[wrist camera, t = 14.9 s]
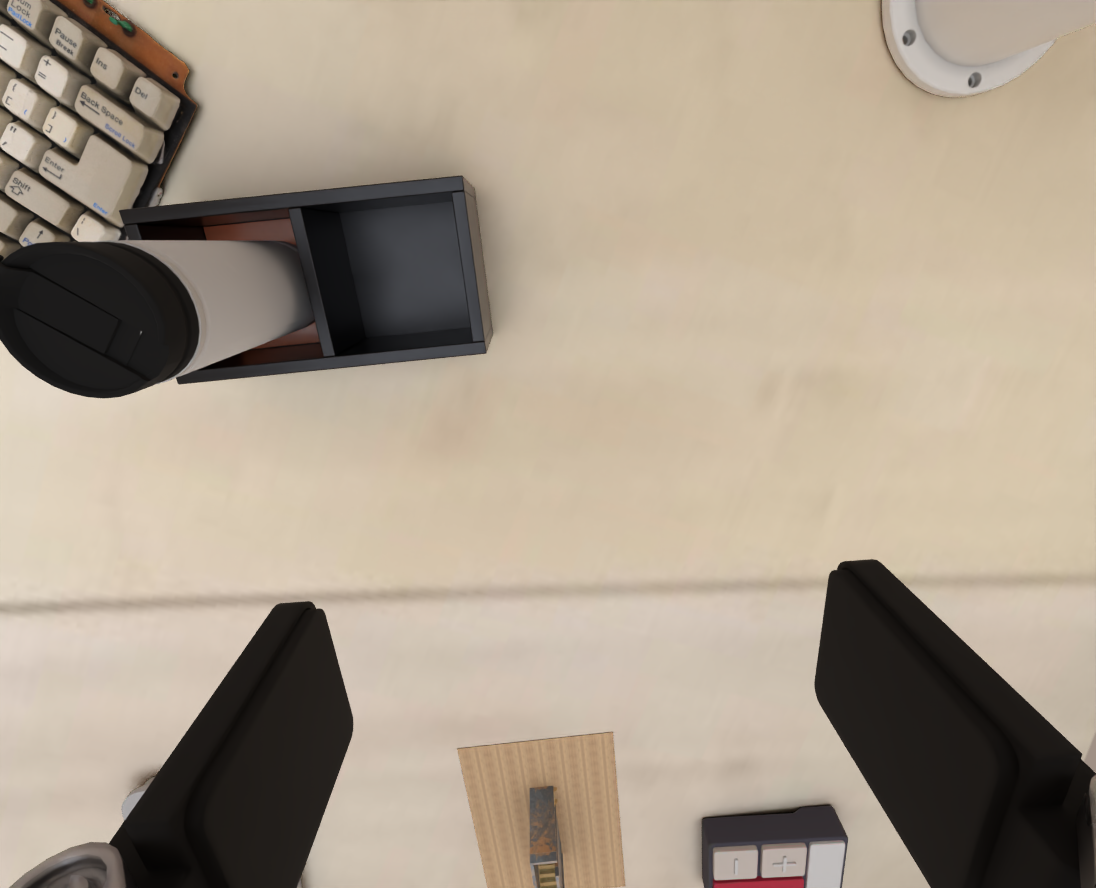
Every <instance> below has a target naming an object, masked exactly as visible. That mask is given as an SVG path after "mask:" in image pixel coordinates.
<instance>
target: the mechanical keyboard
mask: <svg viewBox="0 0 1096 888" xmlns="http://www.w3.org/2000/svg"><path fill="white" fill-rule="evenodd" d="M105 8H108V9H110V10H111V11H113V12H114V13H115V14H116V15H117V16H119V18H120V21H119V20H116V19H114V18H113V17H111V16H110V15H108V14H107V13H106V12H105V11H104V9H105ZM188 73H189V69H188V67H187V66H186V64H185V63H184V62H183V61H180V60H179V59H178V58H177V57H175V56H174V55H173V54H172V53H171V52H169V51H167V50H166V49H164V48H163V47H162V46H161V45H160V44H158V43H157V42H156V41H155V40H153V39H152V37H150V36H149V35H148V34H147V33H146V32H144V31H143V30H141V29H140V28H138V27H137V26H136V25H134V24H133V23H132V22H131V21H129V20H128V19H127V18H125V17H124V16H122V15H121V14H120V13H119V12H117V11H116V10H115V9H113V8H112V7H111V6H110V5H108V4H107V3H105V2H104V1H103V0H0V255H2V256H3V257H4V259H5V258H6V257H7V256H9V255H10V254H11V253H13V252H15V251H16V250H18V249H20V248H21V247H25V246H28V245H32V244H35V243H44V242H94V241H106V240H117V241H121V240H129V239H128V236H127V233H126V230H125V227H124V224H123V222H122V219H121V216H120V213H119V210H124V209H134V208H144V207H154V206H156V205H159V202H160V200H159V199H160V198H161V197H162V195H163V193H162V191H163V190H162V189H161V187H160V184H161V182H162V180H163V178H164V176H165V173H166V171H167V170H168V168H169V166H170V163H171V161H172V159H173V157H174V155H175V153H176V151H177V149H178V147H179V145H180V143H181V141H182V139H183V136H184V134H185V132H186V129H187V128H188V126H189V124H190V121H191V119H192V117H193V115H194V113H195V110H196V109H197V104H196V103H195V102H194V101H193V100H192V99H191V98H189V96H188V95H187V94H186V92H185V90H184V83H185V80H186V78H187V76H188ZM173 74H176V75H177V78H174V77H173ZM158 195H160V196H158ZM4 259H3V260H4Z"/></svg>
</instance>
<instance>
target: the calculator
mask: <svg viewBox="0 0 1096 888" xmlns="http://www.w3.org/2000/svg"><path fill="white" fill-rule="evenodd" d="M847 844H848V837H847V835H846V833H845V830H844V828H843V826H842V824H841V822H840V820H839V818H838V816H837V814H836V812H835V810H834V808H833V807H832V806H815V807H800V808H799V809H798V810H797V811H796V812H795V813H786V814H769V815H751V816H734V817H716V818H704V819H703V820H702V879H703V883H704V888H842V882H843V874H844V866H845V859H846V851H847Z"/></svg>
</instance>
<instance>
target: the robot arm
mask: <svg viewBox="0 0 1096 888" xmlns="http://www.w3.org/2000/svg"><path fill="white" fill-rule="evenodd" d="M882 19H883V29H884V33H885V38H886V42H887V46H888V48H889V50H890V53H891V55H892V57H893V59H894V61H895V63H896V65H897V66H898V67H899V69H900V70H901V71H902V73H903V74H904V75H905V77H906V78H908V79H909V80H910V81H911V82H913V83H914V84H915V85H916V86H917V87H919V88H921V89H923V90H925V91H927V92H929V93H932V94H934V95H940V96H945V97H967V96H971V95H975V94H979V93H983V92H986V91H989V90H991V89H994V88H997V87H999V86H1002V85H1004V84H1006V83H1008V82H1009V81H1011V80H1013V79H1015V78H1016V77H1018V76H1020V75H1021V74H1022V73H1024V72H1025V71H1026V70H1027V69H1029V68H1030V67H1031V66H1032V65H1034V64H1035V63H1036V62H1037V61H1038V60H1039V59H1040V58H1041V57H1042V56H1043V55H1044V54H1045V53H1046V52H1047V50H1048V49H1049V48H1050V47H1051V46H1052V45H1053V44H1054V42H1055V41H1056V40H1057V38H1060V37H1062V36H1065V35H1068V34H1070V33H1073V32H1076V31H1078V30H1081V29H1083V28H1086V27H1089V26H1091V25H1094V24H1096V0H882ZM903 42H904V43H903ZM815 692H816V696H817V699H818V701H819V703H820V705H821V707H822V709H823V710H824V712H825V714H826V715H827V717H828V719H829V720H830V722H831V724H832V725H833V727H834V729H835V730H836V732H837V733H838V735H839V737H840V738H841V740H842V742H843V743H844V745H845V747H846V748H847V750H848V752H849V753H850V755H851V757H852V758H853V760H854V762H855V763H856V765H857V766H858V768H859V770H860V771H861V773H862V775H863V776H864V778H865V780H866V781H867V783H868V785H869V786H870V788H871V790H872V791H873V793H874V795H875V796H876V798H877V799H878V801H879V803H880V804H881V806H882V808H883V809H884V811H885V813H886V814H887V816H888V818H889V819H890V821H891V823H892V824H893V826H894V828H895V829H896V831H897V832H898V834H899V836H900V837H901V839H902V841H903V842H904V844H905V846H906V847H907V849H908V851H909V852H910V854H911V856H912V857H913V859H914V861H915V862H916V864H917V865H918V867H919V869H920V870H921V872H922V874H923V875H924V877H925V879H926V880H927V882H928V884H929V885H930V887H931V888H1096V773H1095V772H1093V770H1092V769H1091V768H1090V767H1089V766H1088V765H1086V764H1085V763H1084V762H1083V761H1082V760H1081V756H1082V753H1081V752H1080V751H1079V750H1077V749H1076V748H1075V747H1074V746H1073V745H1072V744H1071V743H1070V742H1069V741H1068V740H1067V739H1066V738H1065V737H1064V736H1063V735H1062V734H1061V733H1060V732H1059V731H1057V730H1056V729H1055V728H1054V727H1053V726H1052V725H1051V724H1050V723H1049V722H1048V721H1047V720H1046V719H1045V718H1044V717H1043V716H1042V715H1041V714H1040V713H1039V712H1037V711H1036V710H1035V709H1034V708H1033V707H1032V706H1031V705H1030V704H1029V703H1028V702H1027V701H1026V700H1025V699H1024V698H1023V697H1022V696H1021V695H1020V694H1019V693H1017V692H1016V691H1015V690H1014V689H1013V688H1012V687H1011V686H1010V685H1009V684H1008V683H1007V682H1006V681H1005V680H1004V679H1003V678H1002V677H1001V676H1000V675H999V674H997V673H996V672H995V671H994V670H993V669H992V668H991V667H990V666H989V665H988V664H987V663H986V662H985V661H984V660H983V659H982V658H981V657H980V656H978V655H977V654H976V653H975V652H974V651H973V650H972V649H971V648H970V647H969V646H968V645H967V644H966V643H965V642H964V641H963V640H962V639H961V638H960V637H958V636H957V635H956V634H955V633H954V632H953V631H952V630H951V629H950V628H949V627H948V626H947V625H946V624H945V623H944V622H943V621H942V620H941V619H940V618H938V617H937V616H936V615H935V614H934V613H933V612H932V611H931V610H930V609H929V608H928V607H927V606H926V605H925V604H924V603H923V602H922V601H921V600H920V599H918V598H917V597H916V596H915V595H914V594H913V593H912V592H911V591H910V590H909V589H908V588H907V587H906V586H905V585H904V584H903V583H902V582H901V581H900V580H898V579H897V578H896V577H895V576H894V575H893V574H892V573H891V572H890V571H889V570H888V569H887V568H886V567H885V566H884V565H883V564H882V563H880V562H879V561H877V560H873V559H871V560H858V561H844V562H842V563H840V564H839V566H838V568H837V570H834V571H831V573H830V575H829V580H828V587H827V594H826V602H825V609H824V616H823V624H822V631H821V639H820V646H819V653H818V661H817V668H816V675H815ZM352 732H353V716H352V712H351V708H350V704H349V701H348V697H347V693H346V690H345V686H344V682H343V678H342V675H341V671H340V667H339V664H338V660H337V656H336V652H335V649H334V645H333V641H332V638H331V634H330V630H329V626H328V623H327V619H326V615H325V613H324V611H323V610H322V609H316V608H315V605H314V604H313V603H312V602H309V601H307V602H293V603H280V604H277V605H276V606H275V607H274V608H273V609H272V611H271V612H270V614H269V615H268V616H267V618H266V619H265V621H264V622H263V624H262V625H261V626H260V628H259V629H258V631H257V632H256V634H255V635H254V636H253V638H252V639H251V641H250V642H249V644H248V645H247V646H246V648H245V649H244V651H243V652H242V654H241V655H240V656H239V658H238V659H237V661H236V662H235V664H234V665H233V666H232V668H231V669H230V671H229V672H228V674H227V675H226V676H225V678H224V679H223V681H222V682H221V684H220V685H219V686H218V688H217V689H216V691H215V692H214V694H213V695H212V696H211V698H210V699H209V701H208V702H207V704H206V705H205V706H204V708H203V709H202V711H201V712H200V714H199V715H198V716H197V718H196V719H195V721H194V722H193V724H192V725H191V726H190V728H189V729H188V731H187V732H186V734H185V735H184V736H183V738H182V739H181V741H180V742H179V744H178V745H177V746H176V748H175V749H174V751H173V752H172V754H171V755H170V756H169V758H168V759H167V761H166V762H165V764H164V765H163V767H162V768H161V769H160V771H159V772H158V774H157V775H156V777H155V778H154V779H153V781H152V782H151V784H150V785H149V787H148V788H147V789H146V791H145V792H144V794H143V795H142V797H141V798H140V799H139V801H138V802H137V804H136V805H135V807H134V808H133V809H132V811H131V812H130V814H129V815H128V817H127V818H126V819H125V821H124V822H123V824H122V825H121V827H120V828H119V830H118V831H117V833H116V834H115V835H114V837H113V838H112V840H111V841H110V843H109V844H108V843H99V842H89V843H86V844H82V845H78V846H75V847H71V848H69V849H67V850H64V851H62V852H60V853H58V854H56V855H54V856H52V857H50V858H48V859H46V860H45V861H43V862H42V863H40V864H39V865H37V866H36V867H34V868H33V869H31V870H30V871H28V872H27V873H25V874H24V875H23V876H22V877H21V878H20V879H18V880H17V881H16V882H15V883H14V884H13V885H12V886H10V887H9V888H297V886H298V883H299V881H300V878H301V875H302V872H303V870H304V867H305V864H306V861H307V859H308V856H309V853H310V850H311V848H312V845H313V842H314V839H315V837H316V834H317V831H318V828H319V826H320V823H321V820H322V817H323V815H324V812H325V809H326V806H327V804H328V801H329V798H330V795H331V793H332V790H333V787H334V784H335V782H336V779H337V776H338V773H339V771H340V768H341V765H342V762H343V760H344V757H345V754H346V751H347V749H348V746H349V743H350V740H351V737H352Z"/></svg>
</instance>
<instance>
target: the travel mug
mask: <svg viewBox="0 0 1096 888" xmlns="http://www.w3.org/2000/svg"><path fill="white" fill-rule="evenodd" d="M3 259H4V257H3V256H2V255H0V340H1V341H2V343H3V344H4V345H5V347H6V348H7V350H8V351H9V352H10V354H11V355H12V356H13V357H14V358H15V359H16V360H17V361H18V362H19V363H20V364H21V365H22V366H23V367H25V368H26V369H27V370H29V371H30V372H31V373H33V374H34V375H35V376H37V377H38V378H40V379H42V380H43V381H45V382H47V383H49V384H51V385H52V386H54V387H57V388H59V389H62V390H64V391H67V392H70V393H73V394H77V395H81V396H86V397H94V398H113V397H121V396H124V395H128V394H131V393H134V392H137V391H139V390H142V389H145V388H147V387H150V386H153V385H155V384H159V383H162V382H166V381H169V380H172V379H174V378H176V377H179V376H182V375H185V374H187V373H190V372H192V371H195V370H197V369H200V368H203V367H205V366H208V365H210V364H213V363H215V362H218V361H221V360H223V359H226V358H228V357H231V356H233V355H236V354H239V353H241V352H244V351H246V350H249V349H251V348H254V347H257V346H259V345H262V344H264V343H267V342H269V341H272V340H275V339H277V338H280V337H282V336H285V335H287V334H290V333H292V332H295V331H297V330H300V329H303V328H305V327H307V326H309V325H311V324H312V323H314V322H315V320H314V316H313V312H312V307H311V303H310V299H309V295H308V291H307V287H306V283H305V279H304V274H303V270H302V266H301V262H300V258H299V254H298V250H297V246H296V245H294V244H291V243H288V242H283V241H200V240H121V241H117V240H106V241H94V242H44V243H35V244H32V245H28V246H25V247H21V248H20V249H18V250H16V251H15V252H13V253H11V254H10V255H9V256H7V257H6V258H5V259H4V260H3Z"/></svg>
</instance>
